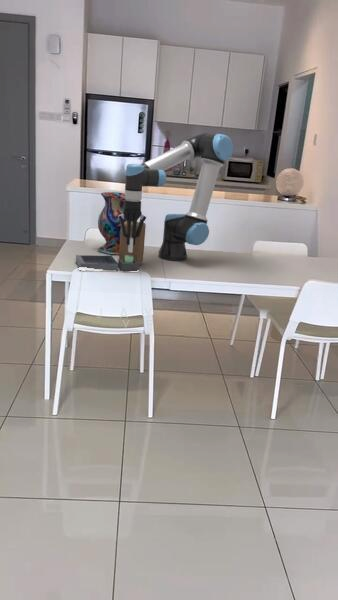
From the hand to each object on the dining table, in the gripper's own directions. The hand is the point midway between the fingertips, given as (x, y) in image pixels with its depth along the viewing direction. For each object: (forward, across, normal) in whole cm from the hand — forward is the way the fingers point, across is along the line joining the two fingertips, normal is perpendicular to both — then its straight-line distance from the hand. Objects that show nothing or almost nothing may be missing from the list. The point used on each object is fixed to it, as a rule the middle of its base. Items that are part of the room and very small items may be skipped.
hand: (130, 251), depth 223 cm
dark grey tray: (+8, +14, -5) cm, 17 cm away
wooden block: (+9, -4, -11) cm, 14 cm away
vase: (+9, 0, -36) cm, 37 cm away
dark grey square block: (+9, 0, 0) cm, 9 cm away
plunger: (+7, 0, 0) cm, 7 cm away
